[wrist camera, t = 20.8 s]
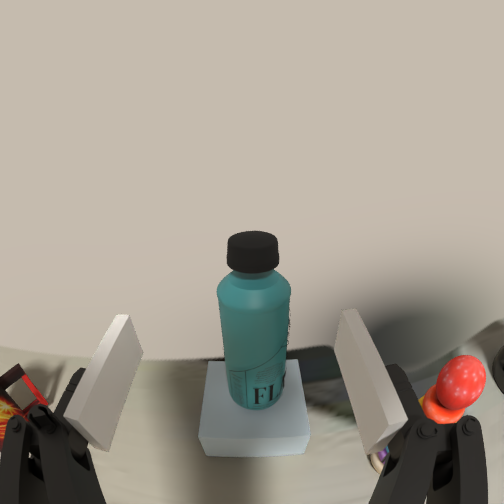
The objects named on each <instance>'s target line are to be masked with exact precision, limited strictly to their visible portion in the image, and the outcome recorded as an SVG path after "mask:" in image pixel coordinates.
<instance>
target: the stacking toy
mask: <svg viewBox="0 0 504 504" xmlns="http://www.w3.org/2000/svg"><path fill="white" fill-rule="evenodd" d="M485 382H486V373H485V369H484V366H483V365H482V363H481V362H480V361H479V360H478V359H477V358H475V357H473V356H470V355H461V356H458V357H455V358H453V359H452V360H450V361H449V362H448V363H447V364H446V365H445V366H444V367H443V368H442V370H441V372H440V374H439V376H438V379H437V383H436V384H435V385H433V386H432V387H431V388H430V389H429V390H428V391H427V392H426V394H425V396H423V397H422V398H420V399H419V400H418V401H419V403H420V405H421V407H422V409H423V411H424V413H425V415H426V417H427V418H429V419H432V420H434V421H435V422H436V423H437V424H447V423H456V422H457V421H458V420H459V419H460V418H461V417H462V415H463V413H464V411H465V408H466V407H468V406H470V405H471V404H473V403H474V402H475V401H476V400H477V399H478V398H479V396H480V395H481V393H482V391H483V389H484V386H485ZM388 452H389V449H388V446H386V447H385V448H384V450H383V451H380V452H376V453H373V454H371V462H372V465H373V467H374V468H375V470H376V471H377V472H378V473H379V474H381V472H382V469H383V466H384V463H385V461H384V462H383V463H382V462H381V461H382V459H383V458H384V457H385V456H386V455H387V454H388Z"/></svg>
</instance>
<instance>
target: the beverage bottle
mask: <svg viewBox="0 0 504 504" xmlns="http://www.w3.org/2000/svg"><path fill="white" fill-rule="evenodd" d="M227 248H228V249H227V264H228V266H229V267H230V268H231V269H233V271H232V272H231V273H229V274H228V275H227V276H226V277H224V278H223V280H222V281H221V282H220V283H219V285H218V287H217V297H218V301H219V310H220V319H221V327H222V336H223V345H224V355H225V357H224V358H225V364H226V370H225V371H226V373H227V380H228V388H229V393H230V396H231V397H232V399H233V401H234V402H236V403H237V404H238V405H239V406H241V407H243V408H246V409H250V410H263V409H266V408H269V407H271V406H272V405H274V404H275V403H276V402H277V401H278V400H279V398H280V396H281V395H282V393H283V392H282V391H283V389H284V386H285V385H284V381H285V380H284V378H286V377H285V375H286V371H285V362H286V356H287V355H286V352H287V351H286V350H287V341H288V340H287V337H288V324H289V302H290V295H291V287H290V284H289V283H288V281H287V280H286V279H285V278H284V277H283V276H282V275H281V274H279V273H278V272H277V271H275V270H274V268H276V267H277V266H278V264H279V253H278V241H277V238H276V237H275V236H274V235H272V234H270V233H267V232H262V231H246V232H241V233H237V234H235V235H232V236H231V237H230V238H229V239H228V247H227ZM289 327H290V326H289ZM287 357H288V356H287ZM286 368H287V367H286ZM227 380H226V381H227Z"/></svg>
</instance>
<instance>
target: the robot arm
mask: <svg viewBox="0 0 504 504" xmlns="http://www.w3.org/2000/svg"><path fill="white" fill-rule="evenodd" d="M334 351H335V354H336V357H337V360H338V363H339V366H340V370H341V373H342V376H343V379H344V382H345V385H346V389H347V392H348V395H349V398H350V402H351V405H352V408H353V412H354V415H355V418H356V422H357V425H358V429H359V432H360V436H361V440H362V443H363V447H364V451H365V454H366V455H369V454H373V453H376V452H380V451H383V450H384V448H385V447H386V446H388V449H389V452H388V454H387V455H386V456H385V457H384V458H383V459H382V461H381V462H382V463H383V462H384V461H385V463H384V466H383V469H382V472H381V474H380V477H379V480H378V482H377V485H376V487H375V490H374V492H373V494H372V497H371V499H370V501H369V504H424V502H425V499H426V496H427V501H426V504H488V482H487V467H486V457H485V449H484V442H483V436H482V430H481V425H480V423H479V421H478V420H477V419H476V418H475V417H473V416H469V415H466V416H463V417H462V418H461V419H460V420H459V421H458V422H457V423H447V424H437V423H436V422H435V421H434V420H432V419H429V418H427V417H426V415H425V413H424V411H423V409H422V407H421V405H420V403H419V401H418V398H417V396H416V394H415V392H414V390H413V389H412V386H411V384H410V382H409V381H408V378H407V376H406V374H405V372H404V371H403V370H402V369H401V368H400V367H399V366H398V365H397V364H392V365H387V366H384V364H383V362H382V360H381V357H380V355H379V353H378V351H377V349H376V347H375V345H374V343H373V341H372V339H371V337H370V335H369V333H368V331H367V329H366V327H365V325H364V323H363V321H362V319H361V317H360V315H359V313H358V311H357V310H356V309H346V310H342V311H341V317H340V322H339V327H338V332H337V338H336V342H335V346H334ZM142 355H143V350H142V348H141V345H140V343H139V340H138V338H137V335H136V332H135V330H134V327H133V324H132V321H131V318H130V315H118V314H117V315H116V317H115V319H114V320H113V322H112V324H111V325H110V327H109V329H108V331H107V332H106V334H105V336H104V337H103V339H102V341H101V343H100V345H99V346H98V348H97V350H96V352H95V354H94V355H93V357H92V359H91V361H90V363H89V365H88V366H87V368H86V369H85V368H80V369H79V370H77V371H76V372H75V373H74V374H73V376H72V378H71V380H70V381H69V384H68V385H67V387H66V391H64V393H63V395H62V397H61V399H60V401H59V403H58V405H57V407H56V409H55V411H54V413H53V412H52V411H51V410H50V409H49V408H48V407H47V406H46V405H44V404H37V405H34V406H33V407H32V408H31V409H30V410H29V412H28V414H27V419H28V420H29V421H30V422H28V421H26V420H25V419H24V418H23V417H22V416H21V415H13V416H12V417H10V419H9V420H8V422H7V425H6V430H5V435H4V440H3V446H2V452H1V459H0V504H106V502H105V499H104V496H103V494H102V491H101V488H100V485H99V482H98V479H97V475H96V472H95V469H94V465H93V462H92V458H91V454H90V451H89V449H88V448H87V445H88V442H89V443H90V444H91V445H92V446H93V447H94V448H96V449H100V450H103V451H106V452H109V449H110V446H111V443H112V440H113V436H114V433H115V430H116V427H117V424H118V421H119V418H120V415H121V412H122V409H123V406H124V403H125V401H126V398H127V395H128V392H129V389H130V387H131V384H132V381H133V379H134V376H135V373H136V371H137V368H138V365H139V363H140V360H141V358H142ZM493 374H494V377H495V380H496V382H497V384H498V386H499V388H500V389H501V390H502V392H503V393H504V346H503V347H502V348H501V349H500V351H499V352H498V354H497V356H496V357H495V359H494V362H493ZM29 452H30V453H31V458H29Z"/></svg>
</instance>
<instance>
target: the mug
mask: <svg viewBox="0 0 504 504" xmlns="http://www.w3.org/2000/svg"><path fill="white" fill-rule="evenodd" d="M21 377H22V379H23V380H24V382H25V383H26V384H27V386H28V387H29V388H30V390H31V391H32V392H33V394H34V395H35V396H36V397H37V399H36V400H34V401H33V402H32V403H31V404H30V405H28V406H27V407H26V408H25V409H24V410H21V409H20V408H19V406H18V405H17V404H16V403H15V402H14V400H13V399H12V398H11V397H10V396H9V394H8V393H7V392H6V391H5V390H6V389H7V388H8V387H9V386H11V385H12V384H13V383H14V382H16V381H17V380H18V379H19V378H21ZM37 404H44V405H48V403H47V401H46V400H45V399H44V397H43V396H42V395H41V393H40V392H39V391H38V389H37V388H36V387H35V386H34V385H33V383H32V382H31V381H30V379H29V378H28V376H27V375H26V374H25V372H24V371H23V369H22V368H21V366H20V365H19V363H18V364H17V365H15V366H14V367H13V368H11V369H10V370H9V371H7V372H6V373H5V374H3V375H2V376H1V377H0V452H2V446H3V440H4V435H5V430H6V425H7V422H8V420H9V419H10V417H12V416H13V415H21V416H22V417H23V418H24V419H25V420H26V421H28V422H30V421H29V420H28V419H27V414H28V412H29V410H30V409H31V408H32V407H33V406H34V405H37Z"/></svg>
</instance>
